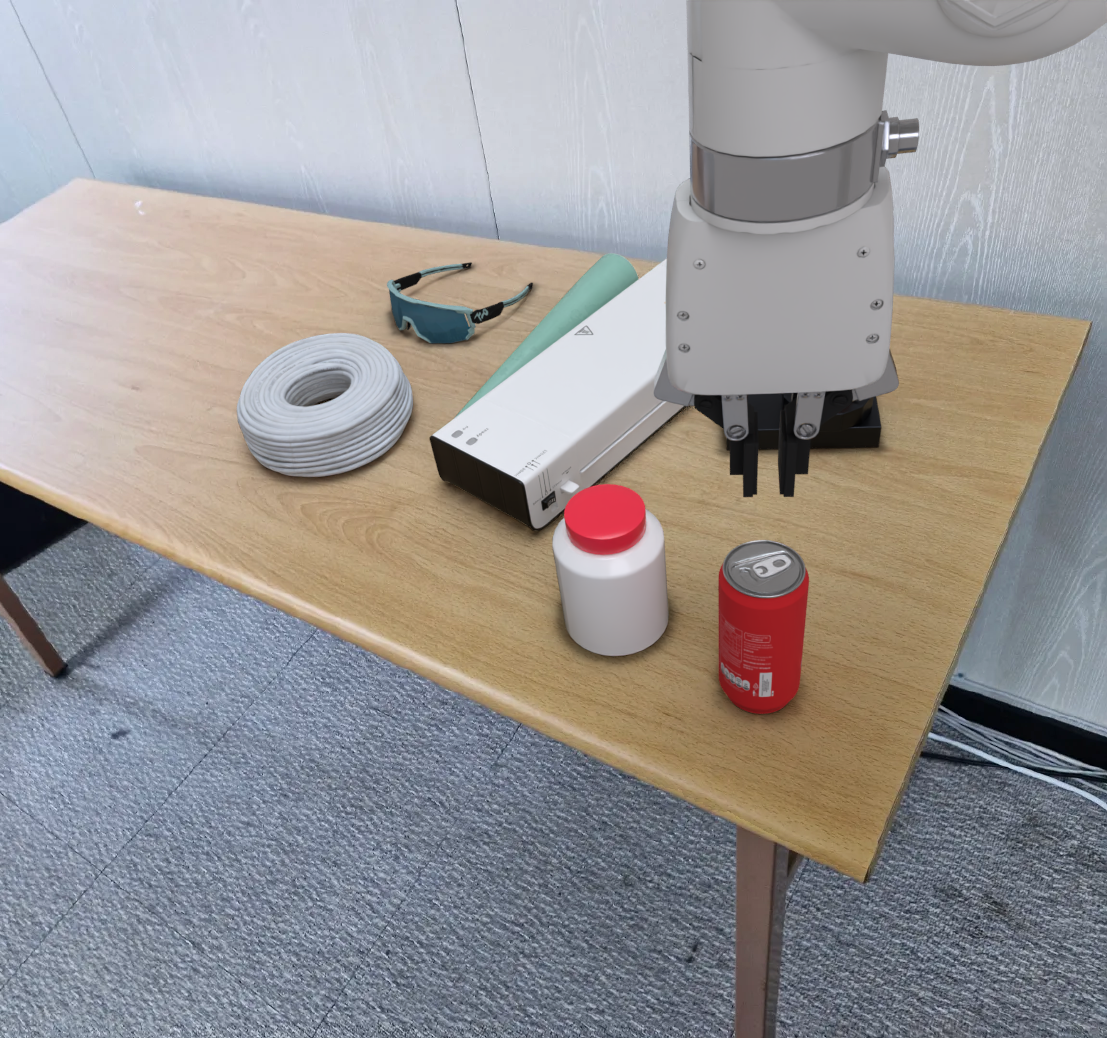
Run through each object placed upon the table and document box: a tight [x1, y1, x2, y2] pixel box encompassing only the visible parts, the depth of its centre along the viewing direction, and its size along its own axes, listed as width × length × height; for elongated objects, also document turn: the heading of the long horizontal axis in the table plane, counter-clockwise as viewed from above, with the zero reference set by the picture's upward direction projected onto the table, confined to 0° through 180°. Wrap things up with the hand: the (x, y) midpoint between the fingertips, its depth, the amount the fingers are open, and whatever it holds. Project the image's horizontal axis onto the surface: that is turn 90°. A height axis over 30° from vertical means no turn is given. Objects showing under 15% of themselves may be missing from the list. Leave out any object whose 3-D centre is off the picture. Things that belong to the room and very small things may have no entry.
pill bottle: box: [551, 483, 670, 657], centre depth 70 cm, size 8×8×11 cm
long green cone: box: [454, 252, 639, 418], centre depth 97 cm, size 5×6×27 cm
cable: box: [236, 332, 414, 478], centre depth 97 cm, size 18×18×6 cm
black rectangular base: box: [725, 393, 882, 451], centre depth 84 cm, size 12×10×4 cm
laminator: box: [429, 257, 687, 532], centre depth 89 cm, size 34×12×6 cm, turn 132°
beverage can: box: [717, 539, 810, 715], centre depth 63 cm, size 5×5×12 cm
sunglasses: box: [386, 261, 534, 344], centre depth 110 cm, size 14×15×5 cm
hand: (767, 478), depth 54 cm, fingers closed
